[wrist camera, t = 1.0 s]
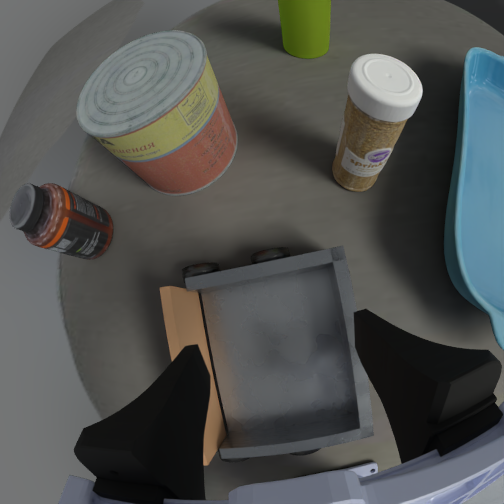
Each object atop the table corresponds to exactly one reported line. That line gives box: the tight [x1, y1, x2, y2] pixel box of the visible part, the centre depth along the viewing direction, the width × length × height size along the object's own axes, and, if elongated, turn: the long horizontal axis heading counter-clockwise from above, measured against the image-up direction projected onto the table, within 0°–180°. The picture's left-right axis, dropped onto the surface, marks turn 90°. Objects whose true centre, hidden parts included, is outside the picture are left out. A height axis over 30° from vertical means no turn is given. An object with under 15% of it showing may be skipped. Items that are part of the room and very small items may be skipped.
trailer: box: [182, 246, 374, 462], centre depth 22 cm, size 17×13×4 cm
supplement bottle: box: [10, 183, 113, 259], centre depth 24 cm, size 6×6×11 cm
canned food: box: [76, 30, 238, 196], centre depth 23 cm, size 11×11×12 cm
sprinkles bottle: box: [332, 54, 423, 192], centre depth 20 cm, size 5×5×13 cm
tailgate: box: [160, 286, 226, 465], centre depth 21 cm, size 14×1×6 cm, turn 11°
